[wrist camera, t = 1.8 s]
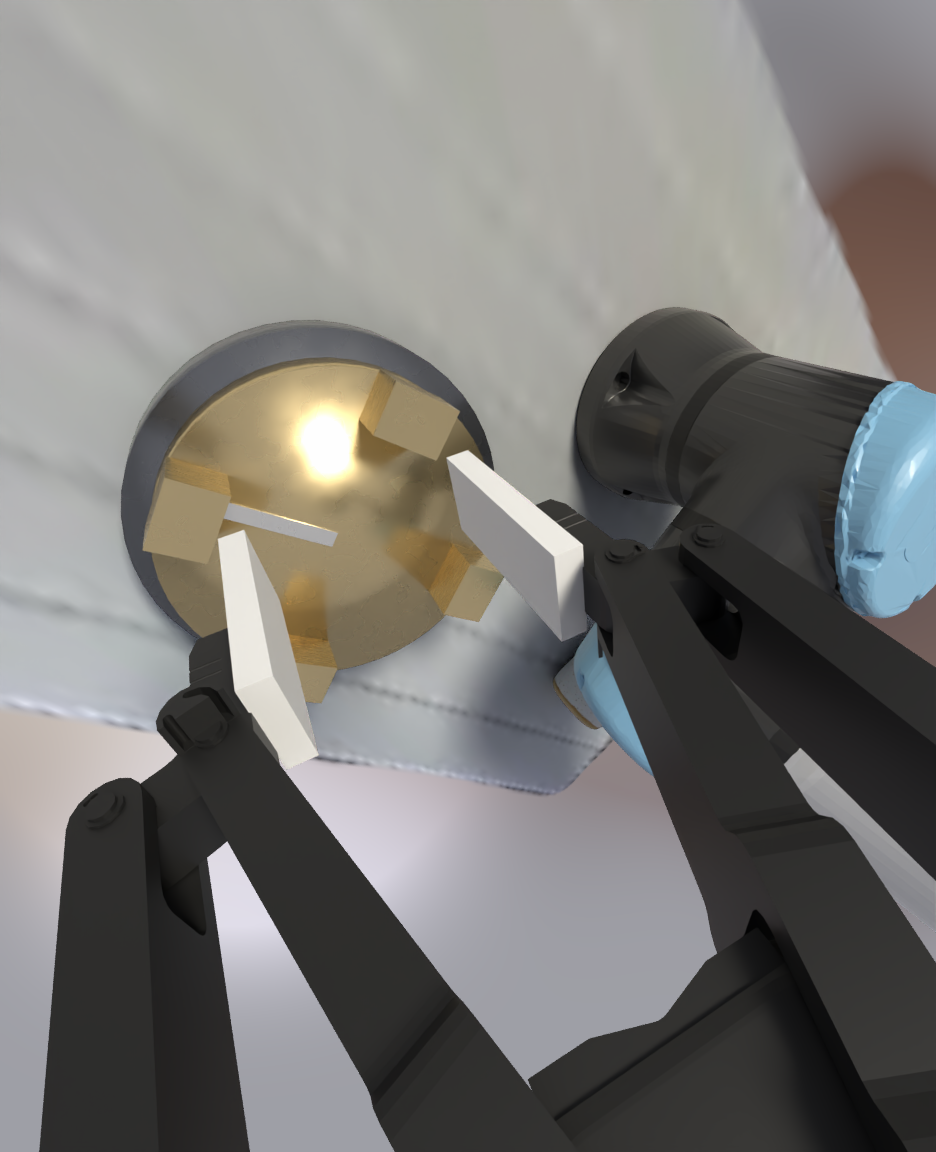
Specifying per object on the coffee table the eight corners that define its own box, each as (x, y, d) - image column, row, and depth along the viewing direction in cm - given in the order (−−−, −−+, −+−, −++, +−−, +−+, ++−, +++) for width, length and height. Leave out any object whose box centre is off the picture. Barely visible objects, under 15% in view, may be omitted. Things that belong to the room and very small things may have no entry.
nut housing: (425, 261, 33) (444, 265, 31) (506, 560, 48) (522, 578, 46) (23, 413, 29) (9, 431, 27) (247, 689, 44) (251, 716, 42)
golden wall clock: (428, 302, 32) (466, 315, 27) (503, 572, 45) (537, 609, 40) (62, 446, 28) (41, 487, 24) (260, 694, 41) (269, 749, 37)
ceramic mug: (536, 673, 58) (577, 725, 52) (591, 619, 57) (638, 665, 51) (583, 704, 65) (623, 753, 59) (632, 656, 64) (678, 701, 58)
